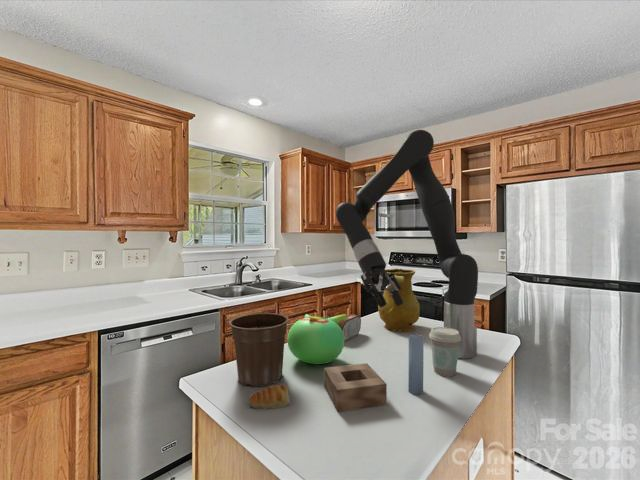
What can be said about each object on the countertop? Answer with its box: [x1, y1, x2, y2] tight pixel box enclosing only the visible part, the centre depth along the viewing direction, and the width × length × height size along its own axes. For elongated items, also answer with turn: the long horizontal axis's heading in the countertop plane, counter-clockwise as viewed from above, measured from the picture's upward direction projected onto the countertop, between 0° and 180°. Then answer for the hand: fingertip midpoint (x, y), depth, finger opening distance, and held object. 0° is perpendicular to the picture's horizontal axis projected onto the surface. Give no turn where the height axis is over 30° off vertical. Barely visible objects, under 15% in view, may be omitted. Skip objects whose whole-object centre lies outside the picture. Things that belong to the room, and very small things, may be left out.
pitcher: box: [377, 268, 421, 333], centre depth 134 cm, size 17×19×25 cm
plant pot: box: [228, 312, 289, 387], centre depth 89 cm, size 16×16×16 cm
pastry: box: [248, 383, 290, 410], centre depth 75 cm, size 9×7×4 cm
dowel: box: [408, 334, 425, 396], centre depth 80 cm, size 4×4×14 cm
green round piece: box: [286, 313, 348, 365], centre depth 100 cm, size 18×17×15 cm
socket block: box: [323, 362, 388, 413], centre depth 78 cm, size 12×12×5 cm
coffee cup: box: [428, 326, 461, 377], centre depth 91 cm, size 8×8×12 cm
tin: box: [337, 313, 362, 342], centre depth 121 cm, size 15×3×8 cm, turn 144°
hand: (392, 305), depth 90 cm, fingers open, 8 cm apart
